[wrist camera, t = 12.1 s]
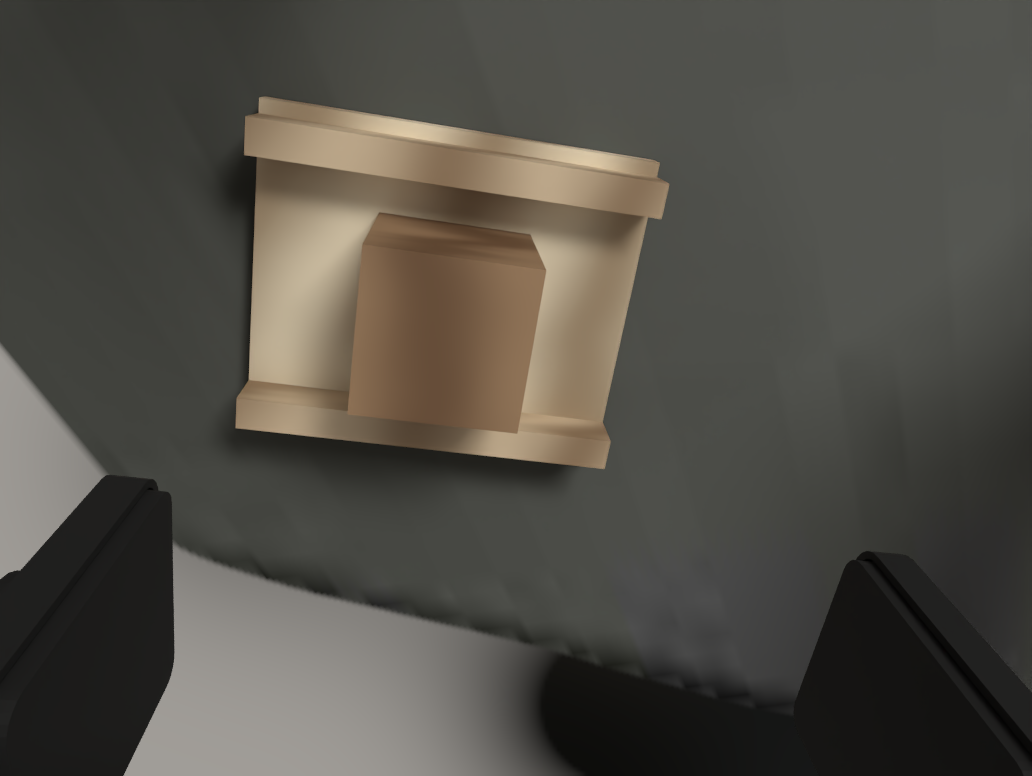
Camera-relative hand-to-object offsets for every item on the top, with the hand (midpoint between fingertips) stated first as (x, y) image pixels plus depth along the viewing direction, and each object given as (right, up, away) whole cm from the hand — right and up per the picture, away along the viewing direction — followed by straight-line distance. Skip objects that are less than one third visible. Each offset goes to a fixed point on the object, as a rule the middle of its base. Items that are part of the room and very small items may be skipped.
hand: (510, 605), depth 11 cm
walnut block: (-3, +6, +19) cm, 20 cm away
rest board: (-3, +7, +19) cm, 21 cm away
